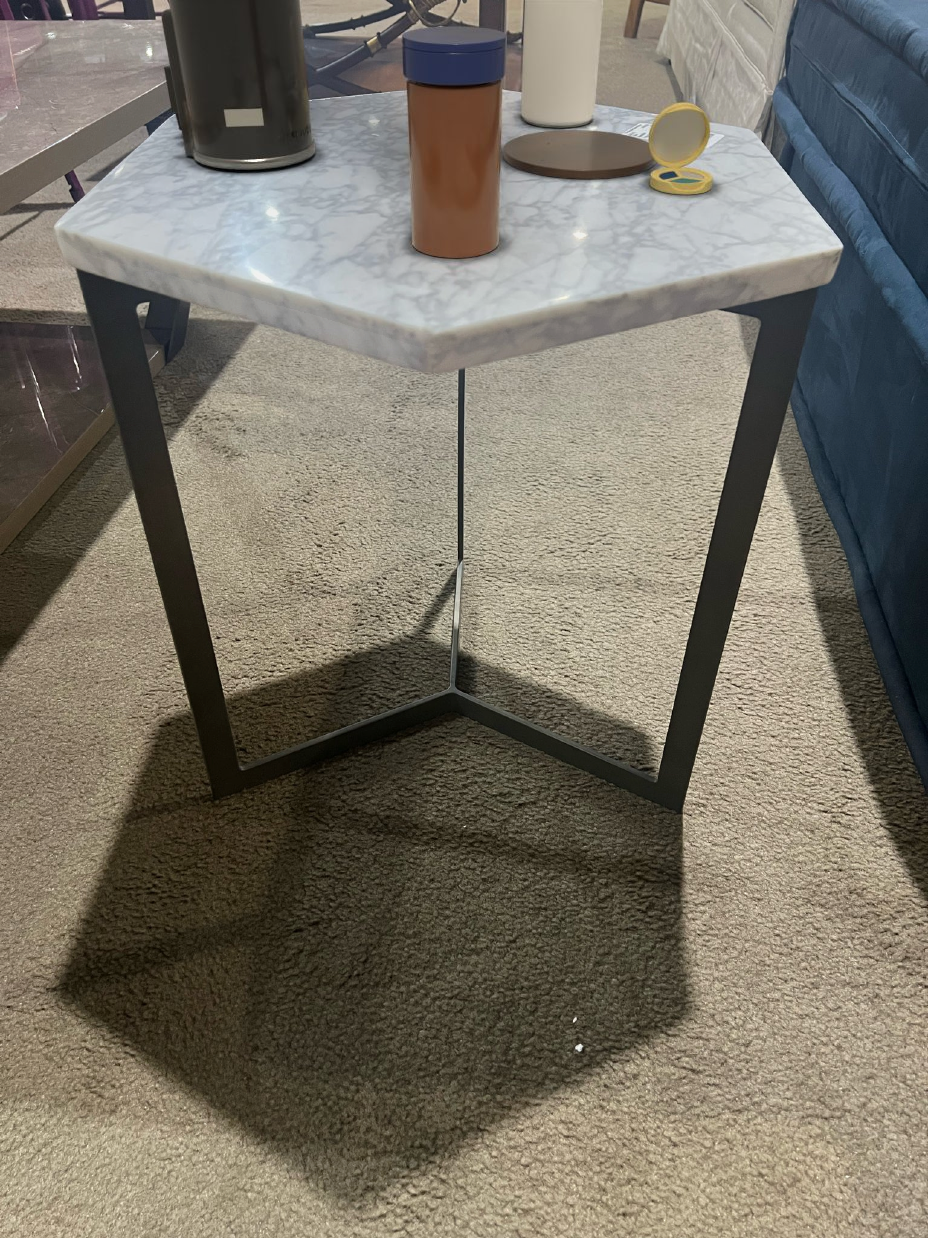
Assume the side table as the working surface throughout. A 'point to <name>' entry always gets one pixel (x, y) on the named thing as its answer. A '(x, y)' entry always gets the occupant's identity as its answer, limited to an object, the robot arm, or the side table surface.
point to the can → (560, 61)
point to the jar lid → (454, 55)
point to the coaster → (579, 154)
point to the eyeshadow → (679, 149)
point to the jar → (455, 167)
